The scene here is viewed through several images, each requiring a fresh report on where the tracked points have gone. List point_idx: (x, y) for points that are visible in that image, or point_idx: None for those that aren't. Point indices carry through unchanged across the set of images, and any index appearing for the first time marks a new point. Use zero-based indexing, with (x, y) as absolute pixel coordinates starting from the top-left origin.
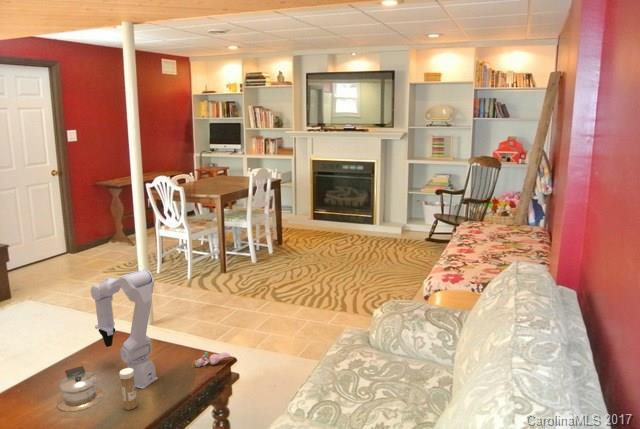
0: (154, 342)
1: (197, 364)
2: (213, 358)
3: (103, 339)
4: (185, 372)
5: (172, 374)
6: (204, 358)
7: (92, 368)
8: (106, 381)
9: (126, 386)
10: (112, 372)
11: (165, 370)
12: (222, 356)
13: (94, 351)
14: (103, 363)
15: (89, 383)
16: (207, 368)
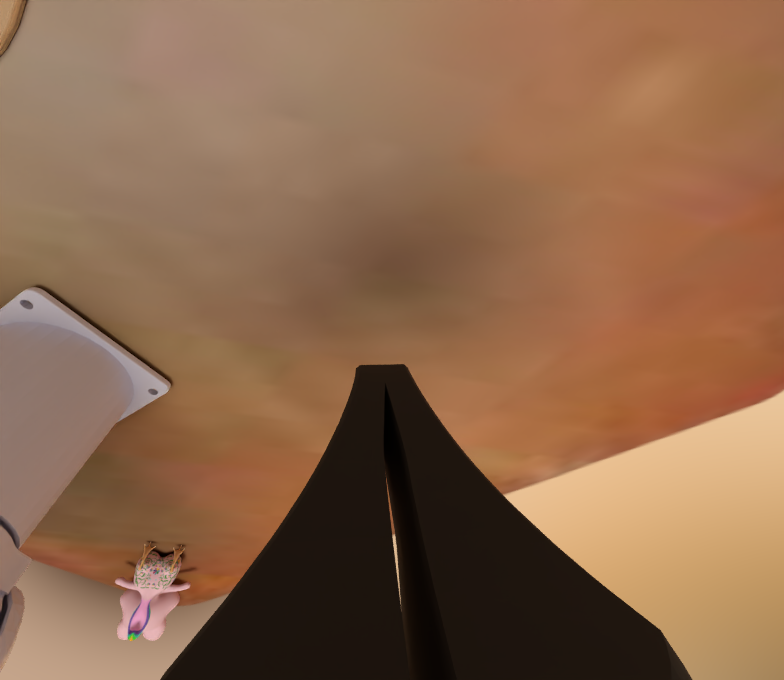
0: (506, 483)
1: (137, 567)
2: (123, 618)
3: (410, 440)
4: (114, 522)
5: (110, 489)
6: (182, 585)
7: (466, 124)
8: (139, 178)
9: None
10: (287, 256)
11: (169, 476)
12: (121, 636)
13: (738, 216)
14: (484, 230)
15: None
16: (125, 567)
